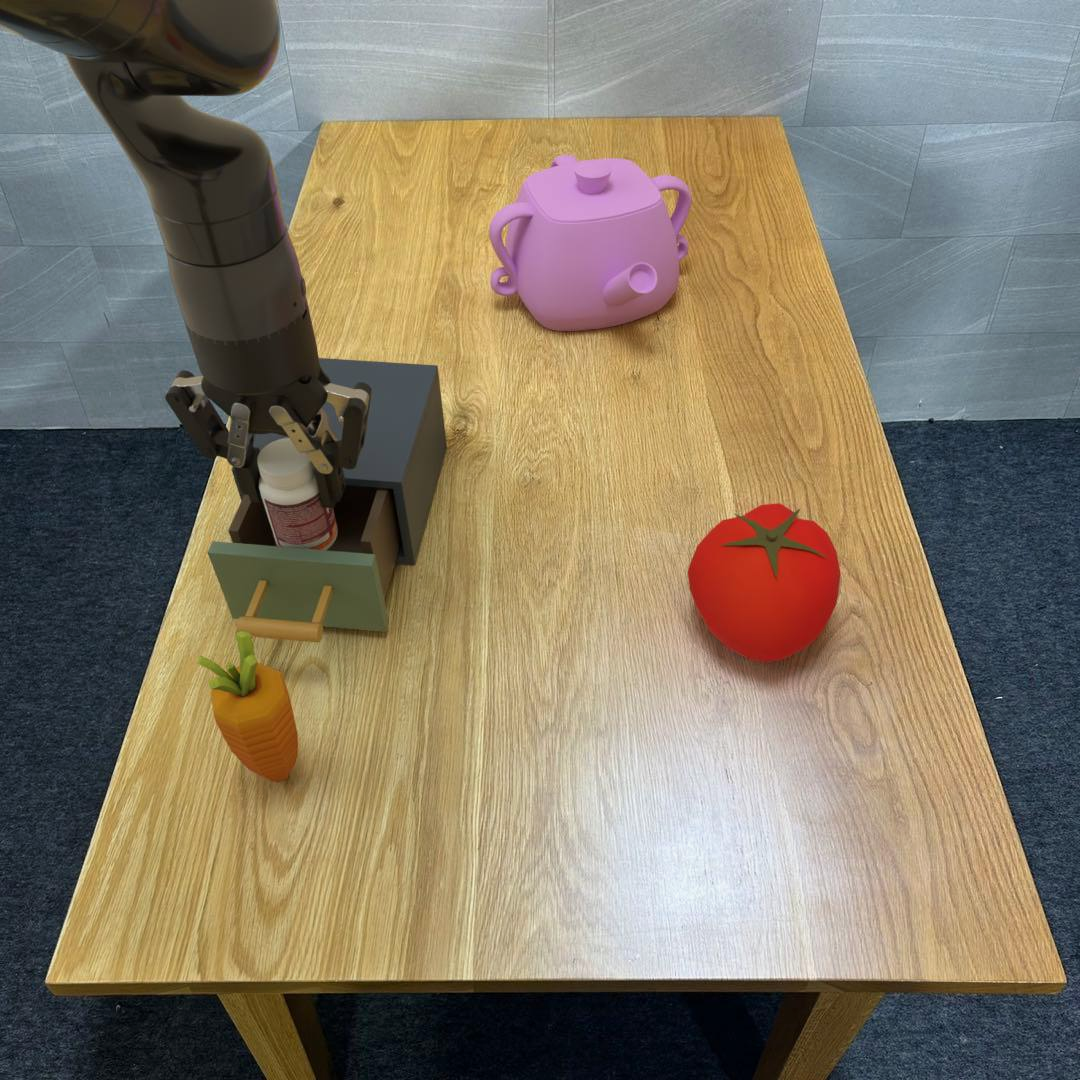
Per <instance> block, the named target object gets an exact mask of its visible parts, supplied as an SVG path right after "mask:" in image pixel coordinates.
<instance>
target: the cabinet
mask: <svg viewBox="0 0 1080 1080" xmlns="http://www.w3.org/2000/svg"><path fill="white" fill-rule="evenodd" d="M319 364H320V366H321V368H322V369H323V371H324V372H325V373H326V374H327V375H328V377H329V379H330V381H331V383H332V384H336V385H340V386H344V387H348V388H351V389H353V388H354V386H355V384H356V383H359V382H364V383H366V384H368V385H369V386H370V387H371V389H372V394H371V401H370V408H369V414H368V421H367V428H366V435H365V442H364V445H363V448H362V449H361V451H360V454H359V457H358V462H357V465H356V467H355V468H354V469H345V468H343V467H342V468H343V472H344V477H345V481H346V485H351V486H364V487H378V488H391V489H393V492H394V498H395V503H396V509H397V515H398V521H399V527H400V532H401V538H402V542H401V545H400V548H399V552H398V555H397V559H396V562H395V564H401V565H413V566H415V565H416V563H417V559H418V556H419V552H420V548H421V545H422V541H423V537H424V534H425V530H426V526H427V522H428V519H429V515H430V512H431V508H432V505H433V501H434V497H435V493H436V490H437V487H438V482H439V479H440V475H441V471H442V468H443V464H444V461H445V457H446V453H447V449H448V445H447V435H446V428H445V427H446V425H445V418H444V408H443V399H442V391H441V383H440V374H439V365H437V364H422V363H421V364H420V363H405V362H391V361H389V362H387V361H375V360H374V361H373V360H357V359H341V358H327V357H326V358H325V357H319ZM322 408H323V410H324V411H325V413H326V414H327V416H328V419H329V426H330V428H331V430H332V431H333V433H334V434H335V436H336V437H337V439H338V440H342V432H343V424H344V422H343V423H341V422H339V421H338V420H337V418H338V416H337V415H336V414H335V409H334V407H333V406H332V405H331V404H330V403H328V402H325V404H324V405H323V406H322ZM284 438H289V437H288V436H282V435H279V434H275V433H268V434H256V437H255V442H254V444H253V447H258V448H259V450H260V451H261V450H262V449H263V448H264V447H265V446H267V445H268V444H269V443H271V442H273V441H276V440H279V439H284ZM231 467H232V468H231V473H232V476H233V479H234V483H235V485H236V489H237V491H238V492H237V493H238V494H239V498H240V502H241V501H242V499H243V497H244V493H243V492H242V491H241V489H240V486H239V483H238V479H237V477H236V474H235V471H234V468H233V466H231Z"/></svg>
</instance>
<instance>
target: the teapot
mask: <svg viewBox="0 0 1080 1080" xmlns="http://www.w3.org/2000/svg"><path fill="white" fill-rule="evenodd" d="M667 190H668V191H669V190H671V191H676V192H677V193H678V197H677V201H676V204H675V207H674V210H673V211H672V214H671V215H670V214H669V211H668V208H667V207H668V206H667V205H666V202H665V200H664V198H663V195H662V193H661V192H663V191H667ZM692 200H693V199H692V192H691V189H690V187H689V185H688V184H686V182H684V181H683V180H682V179H680V178H679V177H677V176H674V175H670V174H661V175H657V176H653V177H651V178H650V177H649V176H648V174H646V173H645V171H644V170H643V169H642V168H641V167H640V166H638V164H637V163H635V162H634V161H632V160H630V159H626V158H616V157H615V158H600V159H599V158H597V159H596V158H595V159H585V160H580V161H579V160H578V159H577V157H576V156H574V155H572V154H561V155H559V156H556V157H554V159H552V161H551V163H550V167H548V168H545V169H542V170H539V171H536V172H534V173H532V174H530V175H529V176H528V177H526V178H525V179H524V181H523V183H522V185H521V186H520V190H519V192H518V195H517V197H516V200H515V202H512V203H510V204H507V205H504V206H503V207H501V209H500V210H498V211H497V212H496V213H495V214H494V216H493V217H492V218H491V221H490V222H489V228H488V236H489V240H490V244H491V247H492V249H493V251H494V253H495V255H496V257H497V258H498V260H499V262H500V264H501V265H502V266H501V267H497V268H495V269H494V270H493V271H492V272H491V274H490V278H489V279H490V280H489V284H490V287H491V290H492V291H493V292H494V293H495V294H496V295H499V296H502V297H511V296H514V295H516V294H517V295H518V297H519V298H520V300H521V302H522V303H523V304H524V306H525V307H526V309H527V311H528V312H529V313H530V314H531V316H533V318H534V320H536V322H537V323H538V324H539V325H541V326H542V327H544V328H546V329H548V330H552V331H557V332H558V331H559V332H579V331H590V330H598V329H606V328H611V327H616V326H620V325H625V324H627V323H628V324H629V323H630V322H635V321H637V320H640V319H642V318H646V317H647V316H650V315H652V314H654V313H656V312H659V311H660V310H661V309H663V308H664V307H665V306H666V305H667V303H668V302H669V301H670V300H671V298H672V296H673V295H674V294H675V292H676V291H677V288H678V285H679V283H680V262H681V261H682V260H683V259H685V258H686V257H687V255H688V254H689V248H690V247H689V246H690V245H689V241H688V238H687V237H686V236H685V235H684V234H682V233H681V231H682V229H683V227H684V225H685V224H686V221H687V219H688V217H689V213H690V211H691V207H692ZM507 225H508V226H507ZM506 226H507V231H506V239H505V240H506V241H505V244H504V240H503V237H502V236H503V235H502V232H503V230H504V229H505V227H506ZM503 277H508V279H507V280H506V281H504V282H501V281H500V280H501V279H502V278H503Z"/></svg>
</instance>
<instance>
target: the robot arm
mask: <svg viewBox="0 0 1080 1080" xmlns="http://www.w3.org/2000/svg"><path fill="white" fill-rule="evenodd" d="M0 29H2V30H4V31H6V32H9V33H11V34H13V35H15V36H18V37H20V38H23V39H25V40H28V41H30V42H32V43H34V44H37V45H39V46H41V47H44V48H47V49H49V50H51V51H54V52H57V53H58V54H61V55H64V57H65V59H66V62H67V64H68V66H69V68H70V69H71V71H72V73H73V75H74V76H75V78H76V79H77V81H78V83H79V85H80V86H81V88H82V89H83V91H84V92H85V94H86V95H87V97H88V99H89V100H90V101H91V103H92V104H93V106H94V107H95V109H96V111H97V112H98V114H99V115H100V116H101V118H102V119H103V121H104V122H105V123H106V126H107V127H108V128H109V130H110V131H111V133H112V135H113V136H114V138H115V140H116V141H117V142H118V144H119V146H120V148H121V149H122V151H123V153H124V154H125V156H126V157H127V159H128V160H129V162H130V164H131V165H132V167H133V168H134V170H135V171H136V173H137V174H138V176H139V178H140V180H141V182H142V183H143V185H144V187H145V190H146V192H147V197H148V199H149V202H150V205H151V209H152V212H153V215H154V219H155V221H156V225H157V228H158V230H159V233H160V238H161V240H162V243H163V246H164V249H165V253H166V259H167V265H168V271H169V276H170V281H171V285H172V288H173V292H174V295H175V297H176V301H177V304H178V307H179V309H180V313H181V317H182V319H183V323H184V326H185V328H186V332H187V335H188V338H189V341H190V344H191V347H192V350H193V353H194V356H195V360H196V363H197V366H198V369H199V371H200V374H201V375H197V376H195V375H194V374H193V372H191V371H189V370H186V369H182V370H180V371H179V372H178V374H177V375H176V377H175V378H174V380H173V382H172V384H171V385H170V387H169V389H168V390H167V392H166V394H165V396H164V399H165V402H166V403H167V404H168V406H169V407H170V409H171V410H172V412H173V414H174V415H175V417H176V418H177V420H178V421H179V423H180V424H181V425H182V427H183V428H184V430H185V431H186V433H187V434H188V436H189V438H190V439H191V440H192V442H193V443H194V445H195V446H196V448H197V449H198V451H199V453H200V454H201V455H202V456H203V458H206V459H209V460H214V459H216V458H217V457H219V458H223V459H226V460H227V463H228V464H229V465H230V466H231V467H233V468H234V471H235V474H236V477H237V479H238V483H239V486H240V489H241V491H242V492H243V493H244V494H245V495H249V498H250V501H251V502H259V503H261V502H262V501H263V500H262V497H261V494H260V490H259V479H260V476H261V475H260V471H259V468H258V463H257V458H258V455H259V453H260V450H259V448H258V447H253V444H254V442H255V437H256V434H268V433H275V434H279V435H282V436H288V437H289V438H290V439H291V441H292V442H293V444H294V445H295V447H296V448H297V450H298V451H299V452H300V453H306V455H307V456H308V458H309V459H310V460H311V462H312V463H313V465H314V466H315V468H316V471H315V477H316V481H317V485H318V490H319V494H320V498H321V502H322V506H323V508H334V507H335V504H336V502H340V500H341V497H342V494H343V491H344V489H345V486H346V481H345V477H344V472H343V468H345V469H354V468H355V467H356V465H357V462H358V457H359V454H360V451H361V449H362V448H363V445H364V442H365V435H366V428H367V421H368V414H369V408H370V401H371V394H372V389H371V387H370V386H369V385H368V384H366V383H364V382H359V383H356V384H355V386H354V388H353V389H351V388H348V387H344V386H340V385H336V384H332V383H331V381H330V379H329V377H328V375H327V374H326V373H325V372H324V371H323V369H322V368H321V366H320V364H319V358H320V357H319V350H318V345H317V341H316V336H315V331H314V327H313V321H312V318H311V313H310V308H309V304H308V298H307V287H306V286H307V285H306V282H305V281H306V280H305V278H304V276H303V275H302V272H301V266H300V262H299V258H298V255H297V252H296V249H295V246H294V243H293V241H292V238H291V236H290V234H289V231H288V227H287V223H286V219H285V215H284V211H283V210H284V209H283V205H282V201H281V200H282V199H281V197H280V192H279V186H278V183H277V177H276V172H275V167H274V164H273V159H272V156H271V153H270V150H269V148H268V146H267V143H266V142H265V140H264V139H263V137H262V136H261V135H260V133H258V132H256V130H255V129H253V128H251V127H249V126H248V125H245V124H243V123H240V122H237V121H234V120H231V119H226V118H223V117H219V116H216V115H213V114H211V113H207V112H204V111H202V110H199V109H197V108H196V107H194V106H193V105H191V104H189V103H188V102H187V101H186V100H185V99H184V98H183V97H192V96H193V97H198V96H199V97H233V96H238V95H242V94H245V93H247V92H249V91H251V90H253V89H254V88H256V87H257V86H259V85H260V84H261V83H262V82H263V81H264V80H265V78H266V77H267V76H268V75H269V73H270V72H271V71H272V68H273V66H274V65H275V63H276V59H277V57H278V53H279V49H280V42H281V18H280V12H279V7H278V3H277V0H0ZM182 96H183V97H182ZM325 402H328V403H330V404H331V405H332V406H333V407H334V409H335V414H336V415H337V416H338V418H337V420H338V421H339V422H341V423H343V422H344V424H343V432H342V440H338V439H337V437H336V436H335V434H334V433H333V431H332V430H331V428H330V426H329V419H328V416H327V414H326V413H325V411H324V410H323V408H322V406H323V405H324V404H325ZM213 404H214V405H216V406H217V407H218V408H219V409H220V410H222V411H223V412H224V413H225V414H226V415H227V416H229V418H230V423H229V429H228V427H227V425H226V424H225V422H224V421H223V419H222V418H221V416H220V413H218V411H217V409H216V408H215V407H214V405H213ZM342 467H343V468H342Z"/></svg>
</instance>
